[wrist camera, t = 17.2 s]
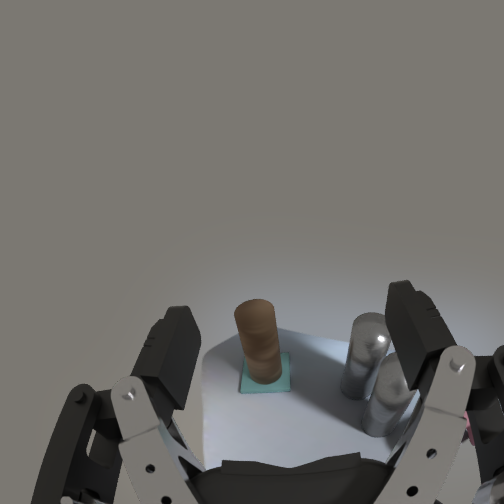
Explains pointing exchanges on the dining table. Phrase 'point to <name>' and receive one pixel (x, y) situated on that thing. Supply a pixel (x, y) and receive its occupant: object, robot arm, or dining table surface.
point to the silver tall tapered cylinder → (365, 355)
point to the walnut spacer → (259, 340)
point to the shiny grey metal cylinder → (387, 399)
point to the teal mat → (277, 386)
